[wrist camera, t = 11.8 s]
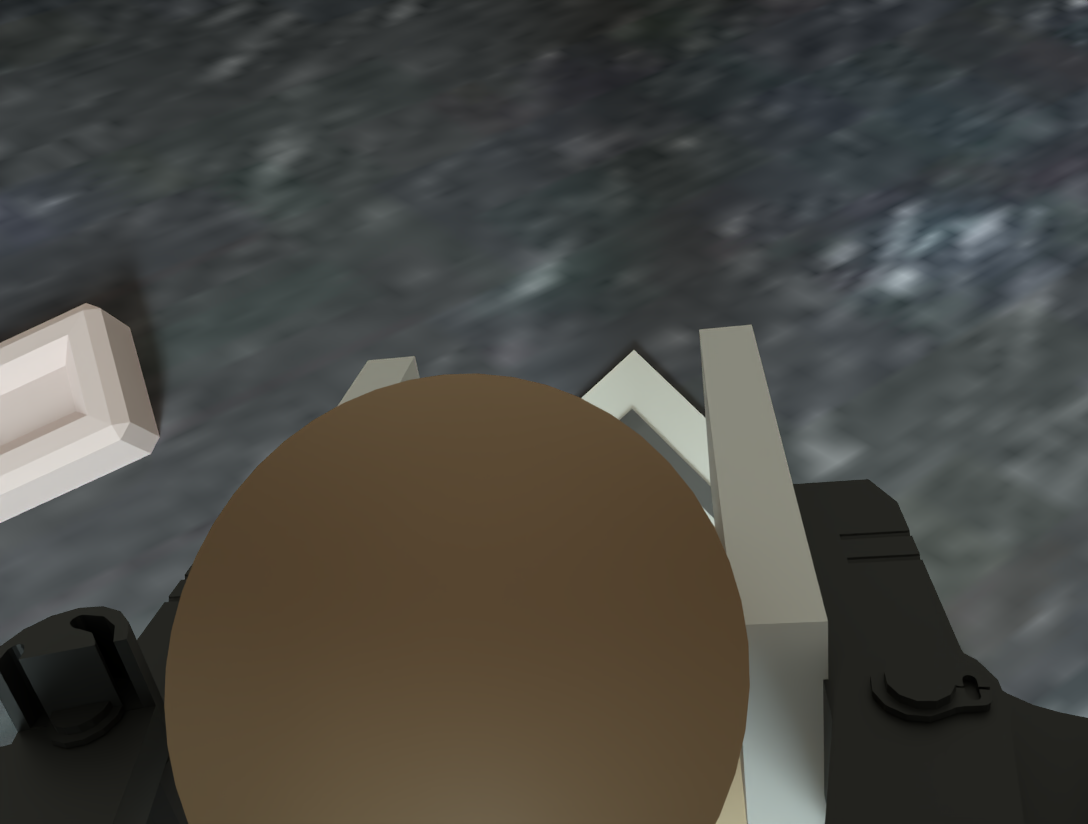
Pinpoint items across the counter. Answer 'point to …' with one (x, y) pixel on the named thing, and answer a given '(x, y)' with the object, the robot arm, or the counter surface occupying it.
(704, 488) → the sheet
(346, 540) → the stamp
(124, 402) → the soap bar
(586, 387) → the counter surface
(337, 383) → the counter surface
